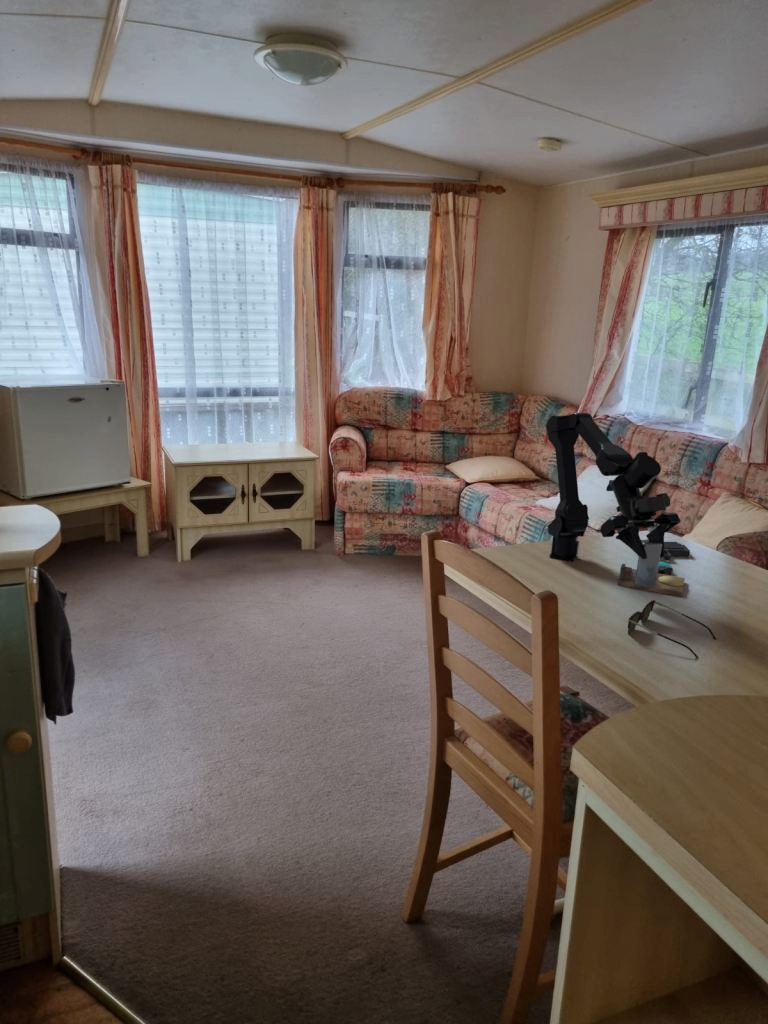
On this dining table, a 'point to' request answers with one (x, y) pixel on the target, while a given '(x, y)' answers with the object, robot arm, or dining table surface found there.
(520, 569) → the dining table surface
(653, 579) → the silver metal cylinder
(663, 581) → the door lock
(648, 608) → the sunglasses
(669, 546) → the handgun
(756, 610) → the dining table surface
